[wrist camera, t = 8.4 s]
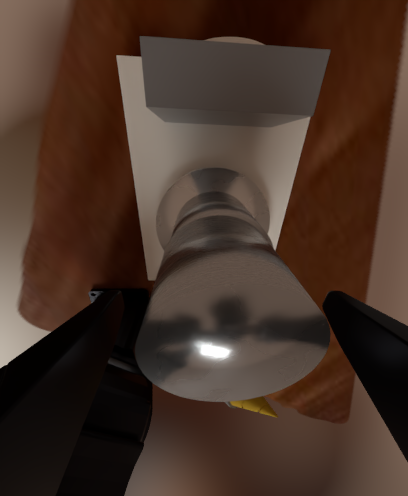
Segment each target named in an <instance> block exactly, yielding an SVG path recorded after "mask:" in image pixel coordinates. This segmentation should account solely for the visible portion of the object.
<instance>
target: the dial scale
mask: <svg viewBox="0 0 408 496" xmlns="http://www.w3.org/2000/svg"><path fill="white" fill-rule="evenodd" d="M140 47H141V57H136V56H121V55H116V57H117V64H118V71H119V78H120V85H121V92H122V99H123V106H124V113H125V120H126V127H127V134H128V141H129V149H130V156H131V163H132V170H133V177H134V184H135V191H136V198H137V205H138V212H139V219H140V226H141V233H142V240H143V248H144V255H145V262H146V269H147V276H148V280H156V277H157V274H158V270H159V267H160V264H161V261H162V258H163V254H164V251H165V248H166V246H167V244H168V242H169V241H170V239H171V236H172V232H173V229H174V225H175V222H176V219H177V215H178V213H179V211H180V210H181V208H182V207H183V206H184V204H185V203H186V202H187V201H189V200H190V199H191V198H193V197H194V196H196V195H199V194H201V193H205V192H211V191H217V192H224V193H227V194H230V195H232V196H234V197H235V198H237V199H238V200H239V201H240V202H241V203H242V204H243V205H244V206H245V207H246V208H247V210H248V211H249V212H250V213H251V215H252V216H253V217H254V218H255V219H256V221H257V222H258V223H259V224H260V225H261V227H262V228H263V229H264V230H265V232H266V233H267V234H268V236H269V237H270V240H271V242H272V244H273V248H274V250H276V246H277V242H278V239H279V235H280V231H281V227H282V223H283V220H284V216H285V212H286V208H287V204H288V200H289V197H290V193H291V189H292V185H293V181H294V178H295V174H296V170H297V166H298V162H299V159H300V155H301V151H302V147H303V143H304V140H305V136H306V132H307V128H308V124H309V120H310V117H311V116H313V114H314V111H315V107H316V103H317V99H318V96H319V92H320V88H321V85H322V81H323V77H324V73H325V70H326V66H327V62H328V58H329V55H330V51H331V50H327V49H313V48H299V47H286V46H272V45H264V44H262V43H260V42H258V41H255V40H252V39H247V38H241V37H218V38H211V39H207V40H189V39H176V38H162V37H148V36H140Z"/></svg>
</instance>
